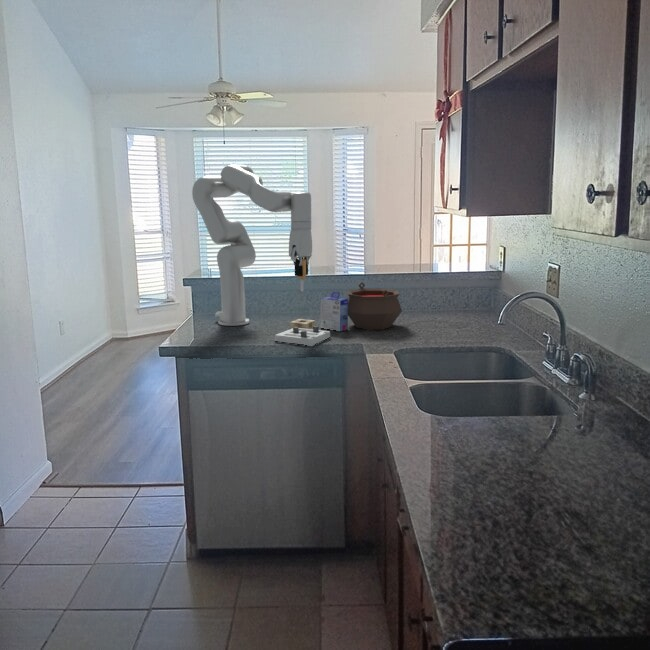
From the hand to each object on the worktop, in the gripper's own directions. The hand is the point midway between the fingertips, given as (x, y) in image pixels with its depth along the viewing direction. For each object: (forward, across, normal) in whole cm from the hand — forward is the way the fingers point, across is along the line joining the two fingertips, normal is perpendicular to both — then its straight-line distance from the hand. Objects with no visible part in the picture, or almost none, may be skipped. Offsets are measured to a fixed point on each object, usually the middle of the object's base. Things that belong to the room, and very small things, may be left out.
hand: (301, 274), depth 246 cm
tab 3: (+20, +7, +10) cm, 24 cm away
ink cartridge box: (+22, -10, +9) cm, 26 cm away
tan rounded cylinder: (+6, 0, 0) cm, 6 cm away
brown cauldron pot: (+22, -22, +20) cm, 37 cm away
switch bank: (+22, +11, +7) cm, 26 cm away
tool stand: (+22, -1, 0) cm, 22 cm away
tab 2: (+20, +16, +10) cm, 28 cm away
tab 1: (+20, +11, +4) cm, 24 cm away
